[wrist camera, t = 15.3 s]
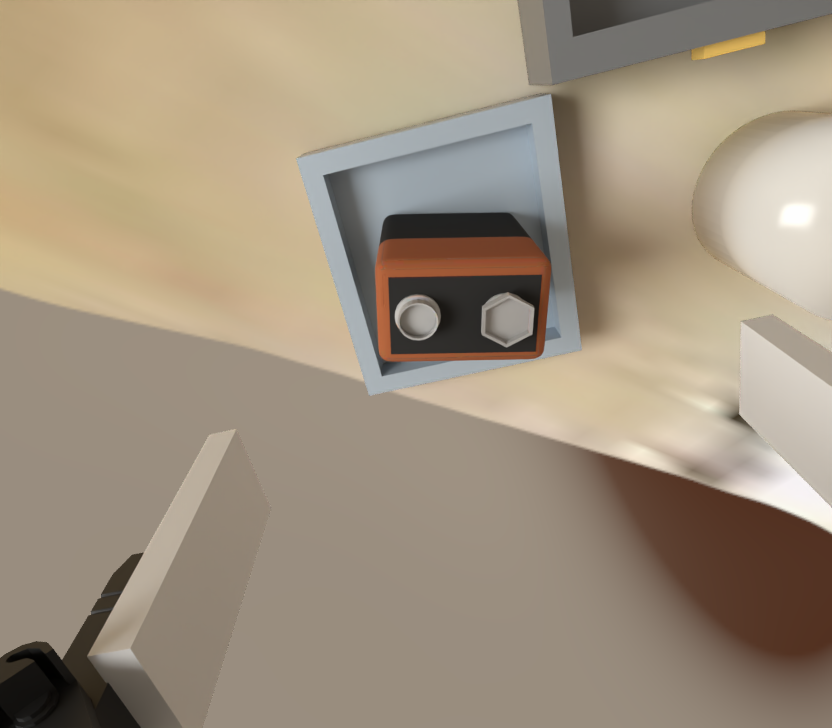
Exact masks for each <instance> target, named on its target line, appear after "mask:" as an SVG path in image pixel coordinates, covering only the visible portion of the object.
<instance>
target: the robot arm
mask: <svg viewBox="0 0 832 728" xmlns="http://www.w3.org/2000/svg"><path fill="white" fill-rule="evenodd" d="M739 415H740V416H741V417H742V418H743V419H744V420H745V421H746V422H747V423H748V424H749V425H750V426H751V427H752V428H753V429H754V430H755V431H756V432H757V433H758V434H759V435H760V436H761V437H762V438H763V439H764V440H765V441H766V442H767V443H768V444H769V445H770V446H771V447H772V448H773V449H774V450H775V451H776V452H777V453H778V454H779V455H780V456H781V457H782V458H783V459H784V460H785V461H786V462H787V463H788V464H789V465H790V466H791V467H792V468H793V469H794V470H795V471H796V472H797V473H798V474H799V475H800V476H801V477H802V478H803V479H804V480H805V481H806V482H807V483H808V484H809V485H810V486H811V487H812V488H813V489H814V490H815V491H816V492H817V493H818V494H819V495H820V496H821V497H822V498H823V499H824V500H825V501H826V502H827V503H828V504H829V505H830V506H831V507H832V352H830V351H829V350H827V349H826V348H824V347H823V346H821V345H820V344H818V343H816V342H815V341H813V340H812V339H810V338H809V337H807V336H806V335H804V334H802V333H801V332H799V331H798V330H796V329H795V328H793V327H792V326H790V325H788V324H787V323H785V322H784V321H782V320H781V319H779V318H778V317H776V316H774V315H773V314H772V315H768V316H763V317H758V318H754V319H749V320H744V321H741V344H740V411H739ZM270 511H271V507H270V504H269V502H268V499H267V497H266V495H265V493H264V490H263V488H262V486H261V484H260V481H259V479H258V477H257V474H256V472H255V470H254V468H253V465H252V463H251V461H250V459H249V456H248V454H247V452H246V450H245V447H244V445H243V443H242V440H241V438H240V436H239V433H238V431H237V429H233V430H229V431H224V432H220V433H215V434H210V435H209V436H208V438H207V440H206V442H205V443H204V445H203V447H202V449H201V451H200V452H199V454H198V456H197V458H196V460H195V462H194V463H193V465H192V467H191V469H190V471H189V472H188V474H187V476H186V478H185V480H184V481H183V483H182V485H181V487H180V489H179V490H178V493H177V494H176V496H175V498H174V500H173V501H172V503H171V505H170V507H169V509H168V510H167V512H166V514H165V516H164V518H163V520H162V521H161V523H160V525H159V527H158V529H157V530H156V532H155V534H154V536H153V538H152V540H151V542H150V543H149V545H148V547H147V548H146V550H145V552H144V553H139V554H134V555H131V556H130V558H129V559H127V561H126V562H125V563H124V564H123V565H122V566H121V567H120V568H119V569H118V570H117V571H116V572H115V573H114V574H113V575H112V577H111V578H110V580H109V582H108V583H107V585H106V587H105V589H104V590H103V592H102V594H101V598H100V599H98V601H97V602H96V604H95V606H94V607H93V609H92V611H91V615H89V616H88V617H87V619H86V621H85V622H84V624H83V626H82V628H81V629H80V631H79V633H78V634H77V636H76V638H75V639H74V641H73V643H72V644H71V646H70V648H69V649H68V651H67V653H66V655H65V656H64V658H63V660H61V659H60V657H59V656H58V655H57V653H56V652H55V651H54V649H53V648H52V647H51V646H50V645H49V644H48V643H47V642H37V641H36V642H32V643H29V644H25V645H22V646H20V647H18V648H16V649H14V650H12V651H10V652H8V653H6V654H5V655H3V656H2V657H1V658H0V728H203V724H204V721H205V718H206V715H207V712H208V708H209V705H210V702H211V699H212V696H213V693H214V689H215V686H216V683H217V680H218V676H219V673H220V670H221V667H222V664H223V661H224V658H225V654H226V651H227V648H228V645H229V642H230V638H231V635H232V632H233V629H234V625H235V622H236V619H237V616H238V613H239V610H240V606H241V603H242V600H243V597H244V594H245V590H246V587H247V584H248V581H249V578H250V575H251V571H252V568H253V565H254V561H255V558H256V555H257V552H258V549H259V546H260V542H261V539H262V536H263V533H264V530H265V526H266V523H267V520H268V517H269V514H270Z"/></svg>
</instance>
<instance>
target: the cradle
mask: <svg viewBox="0 0 832 728" xmlns="http://www.w3.org/2000/svg"><path fill="white" fill-rule="evenodd" d="M518 6H519V14H520V21H521V28H522V36H523V43H524V51H525V58H526V66H527V73H528V80H529V85H554V84H558V83H562V82H566V81H570V80H574V79H578V78H581V77H585V76H589V75H593V74H597V73H601V72H605V71H609V70H613V69H617V68H621V67H625V66H629V65H632V64H636V63H640V62H644V61H648V60H652V59H656V58H660V57H664V56H668V55H672V54H676V53H680V52H683V51H687V50H691V56H692V60H698V59H706V58H710V57H714V56H718V55H722V54H726V53H730V52H734V51H738V50H742V49H746V48H750V47H754V46H758V45H762V44H765V31H766V30H770V29H774V28H778V27H781V26H785V25H789V24H793V23H797V22H801V21H805V20H809V19H813V18H817V17H821V16H825V15H829V14H832V0H518Z"/></svg>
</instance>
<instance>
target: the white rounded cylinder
mask: <svg viewBox="0 0 832 728" xmlns="http://www.w3.org/2000/svg"><path fill="white" fill-rule="evenodd" d="M692 220H693V225H694V229H695V232H696V235H697V237H698V240H699V241H700V243H701V244H702V246H703V247H704V248H705V250H706V251H707V252H708V253H709V254H710V255H711V256H713V257H714V258H715V259H717V260H718V261H720V262H722V263H724V264H725V265H727V266H729V267H731V268H732V269H734V270H736V271H738V272H739V273H741V274H743V275H745V276H747V277H748V278H750V279H752V280H754V281H755V282H757V283H759V284H761V285H762V286H764V287H766V288H768V289H769V290H771V291H773V292H775V293H777V294H778V295H780V296H782V297H784V298H785V299H787V300H789V301H791V302H792V303H794V304H796V305H798V306H800V307H801V308H803V309H805V310H807V311H808V312H810V313H812V314H814V315H816V316H819V317H821V318H824V319H828V320H832V114H829V113H815V112H800V111H783V112H777V113H771V114H768V115H765V116H762V117H759V118H757V119H755V120H753V121H750V122H749V123H747V124H745V125H744V126H742V127H740V128H739V129H737V130H736V131H735V132H733V133H732V134H731V135H730V136H729V137H727V138H726V139H725V140H724V141H723V142H722V143H721V144H720V145H719V146H718V148H717V149H716V150H715V151H714V152H713V154H712V155H711V156H710V158H709V159H708V161H707V162H706V164H705V166H704V168H703V169H702V171H701V173H700V176H699V178H698V180H697V183H696V187H695V190H694V194H693V200H692Z"/></svg>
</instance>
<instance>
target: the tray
mask: <svg viewBox="0 0 832 728" xmlns="http://www.w3.org/2000/svg"><path fill="white" fill-rule="evenodd" d="M296 160H297V163H298V166H299V170H300V173H301V176H302V179H303V183H304V186H305V189H306V192H307V196H308V199H309V202H310V205H311V209H312V212H313V215H314V218H315V222H316V225H317V228H318V231H319V235H320V238H321V241H322V244H323V248H324V251H325V254H326V257H327V261H328V264H329V267H330V270H331V274H332V277H333V280H334V283H335V286H336V290H337V293H338V296H339V299H340V303H341V306H342V309H343V312H344V316H345V319H346V322H347V325H348V329H349V332H350V335H351V338H352V342H353V345H354V348H355V351H356V355H357V358H358V361H359V364H360V368H361V371H362V374H363V377H364V381H365V384H366V387H367V390H368V394H369V396H370V395H374V394H379V393H384V392H388V391H393V390H398V389H402V388H407V387H412V386H416V385H421V384H426V383H431V382H435V381H440V380H445V379H449V378H454V377H459V376H463V375H468V374H473V373H477V372H482V371H487V370H491V369H496V368H501V367H505V366H510V365H515V364H519V363H524V362H529V361H533V360H538V359H543V358H547V357H552V356H557V355H561V354H566V353H571V352H575V351H580V350H582V347H581V338H580V330H579V322H578V314H577V305H576V297H575V289H574V280H573V272H572V264H571V256H570V247H569V239H568V231H567V223H566V214H565V206H564V198H563V189H562V181H561V173H560V165H559V156H558V148H557V140H556V132H555V123H554V115H553V107H552V98H551V94H542V93H540V94H536V95H533V96H529V97H525V98H521V99H517V100H513V101H509V102H505V103H501V104H497V105H493V106H489V107H485V108H481V109H477V110H474V111H470V112H466V113H462V114H458V115H454V116H450V117H446V118H442V119H438V120H434V121H430V122H426V123H422V124H418V125H415V126H411V127H407V128H403V129H399V130H395V131H391V132H387V133H383V134H379V135H375V136H371V137H367V138H363V139H359V140H355V141H352V142H348V143H344V144H340V145H336V146H332V147H328V148H324V149H320V150H316V151H312V152H308V153H304V154H302V155H301V156H299V157H298V158H296ZM440 213H510V214H512V215H513V216H514V217H515V219H516V220H517V221H518V222H519V224H520V225H521V226H522V227H523V229H524V230H525V231H526V232H527V234H528V235H529V236H530V237H531V239H532V240H533V241H534V242H535V243H536V245H537V246H538V247H539V248H540V250H541V251H542V252H543V253H544V255H545V256H546V257H547V258H548V260H549V261H550V263H551V279H550V291H549V302H548V313H547V324H546V335H545V346H544V352H543V353H542V355H541V356H540V357H538V358H535V359H519V360H466V361H412V362H391V361H386V360H384V359H383V358H382V357H381V356H380V354H379V348H378V328H377V306H376V285H375V265H376V260H377V254H378V248H379V243H380V237H381V231H382V226H383V221H384V219H385V218H386V217H387V216H389V215H394V214H440Z"/></svg>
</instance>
